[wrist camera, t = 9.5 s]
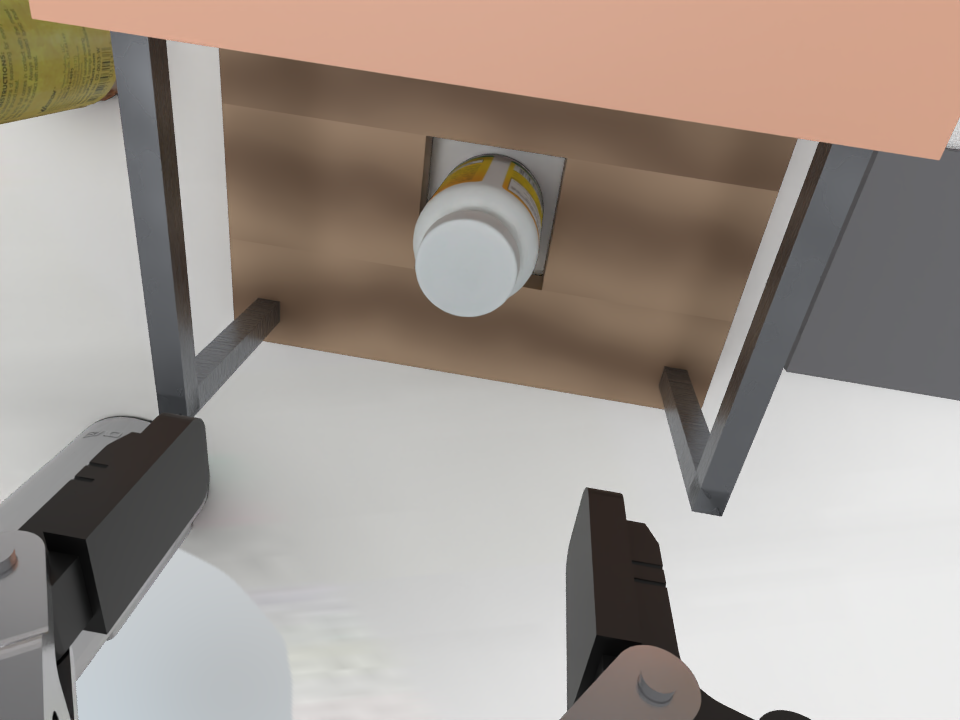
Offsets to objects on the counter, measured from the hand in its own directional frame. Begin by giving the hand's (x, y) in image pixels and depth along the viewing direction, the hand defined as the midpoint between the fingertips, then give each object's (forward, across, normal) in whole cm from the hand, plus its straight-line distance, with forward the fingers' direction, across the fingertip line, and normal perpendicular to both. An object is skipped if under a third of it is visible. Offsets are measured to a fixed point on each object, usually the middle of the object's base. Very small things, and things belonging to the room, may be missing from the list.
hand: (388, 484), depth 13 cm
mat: (+22, -23, 0) cm, 32 cm away
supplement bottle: (+23, 0, 0) cm, 23 cm away
